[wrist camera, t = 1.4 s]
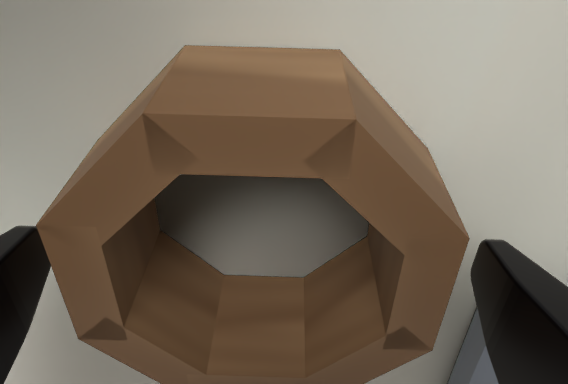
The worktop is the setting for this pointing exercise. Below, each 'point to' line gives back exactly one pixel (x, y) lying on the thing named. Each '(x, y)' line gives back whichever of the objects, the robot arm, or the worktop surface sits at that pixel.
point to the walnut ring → (256, 289)
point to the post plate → (473, 359)
